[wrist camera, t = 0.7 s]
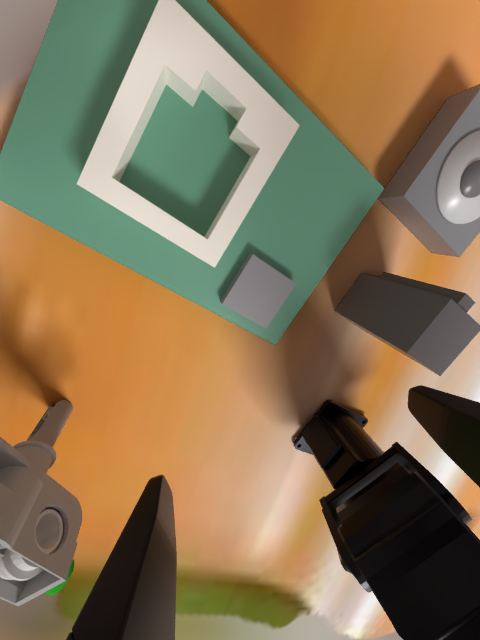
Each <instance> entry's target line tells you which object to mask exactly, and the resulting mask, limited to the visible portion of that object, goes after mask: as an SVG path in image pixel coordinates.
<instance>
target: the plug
mask: <svg viewBox="0 0 480 640" xmlns="http://www.w3.org/2000/svg"><path fill="white" fill-rule="evenodd" d="M474 303H475V302H474V301H473V300H472V299H471V298H470V297H469V296H468V295H467V294H466V293H463V292H459V291H455V290H451V289H447V288H443V287H440V286H436V285H432V284H428V283H424V282H420V281H417V280H413V279H409V278H405V277H401V276H397V275H394V274H390V273H386V272H383V273H382V274H381V276H380V277H376V276H373V275H369V274H366V273H361V275H360V276H359V277H358V279H357V280H356V281H355V283H354V284H353V286H352V287H351V288H350V290H349V291H348V292H347V294H346V295H345V297H344V298H343V299H342V301H341V302H340V303H339V305H338V306H337V308H336V309H335V310H334V311H336V312H337V313H338V314H340V315H341V316H343V317H344V318H346V319H347V320H349V321H350V322H352V323H353V324H355V325H356V326H358V327H359V328H361V329H362V330H364V331H366V332H367V333H369V334H371V335H372V336H374V337H376V338H377V339H379V340H381V341H382V342H384V343H386V344H387V345H389V346H391V347H392V348H394V349H396V350H397V351H399V352H401V353H402V354H404V355H406V356H407V357H409V358H411V359H412V360H414V361H416V362H418V363H419V364H421V365H423V366H424V367H426V368H428V369H429V370H431V371H433V372H434V373H436V374H438V375H439V376H441V375H442V373H443V372H444V371H445V370H446V369H447V368H448V367H449V365H450V364H451V363H452V362H453V361H454V360H455V359H456V357H457V356H458V355H459V354H460V353H461V352H462V351H463V349H464V348H465V347H466V346H467V345H468V344H469V343H470V341H471V340H472V339H473V338H474V337H475V336H476V335H477V333H478V332H479V331H480V325H479V324H478V323H477V322H476V321H475V320H474V319H473V318H472V317H470V316H469V315H468V314H467V312H468V310H469V309H470V308H471V307H472V306H473V304H474Z"/></svg>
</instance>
